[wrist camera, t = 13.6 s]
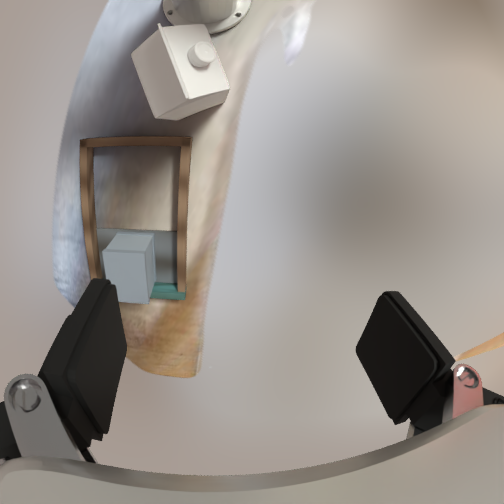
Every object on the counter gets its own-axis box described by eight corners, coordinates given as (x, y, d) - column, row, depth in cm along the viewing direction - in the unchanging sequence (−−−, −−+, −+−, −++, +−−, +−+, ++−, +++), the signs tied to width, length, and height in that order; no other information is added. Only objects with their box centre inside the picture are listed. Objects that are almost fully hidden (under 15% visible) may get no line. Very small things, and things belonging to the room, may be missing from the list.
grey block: (117, 231, 40) (102, 251, 34) (154, 233, 41) (144, 253, 35) (122, 276, 43) (110, 300, 37) (156, 278, 44) (148, 304, 38)
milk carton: (177, 120, 34) (143, 117, 17) (160, 78, 31) (116, 43, 14) (225, 102, 34) (233, 81, 17) (208, 59, 31) (203, 7, 14)
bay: (87, 138, 33) (78, 140, 30) (192, 136, 36) (190, 137, 33) (98, 283, 44) (92, 292, 41) (186, 289, 46) (184, 300, 44)
